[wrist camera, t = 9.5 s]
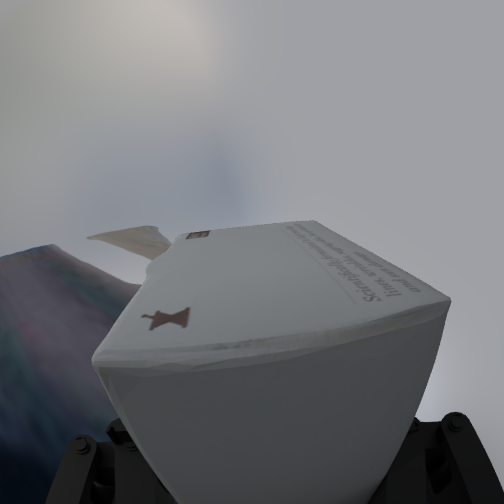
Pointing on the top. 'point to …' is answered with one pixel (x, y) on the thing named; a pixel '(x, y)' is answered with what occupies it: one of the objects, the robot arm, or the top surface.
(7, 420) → the top surface
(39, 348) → the top surface
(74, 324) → the top surface
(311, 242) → the skincare box
